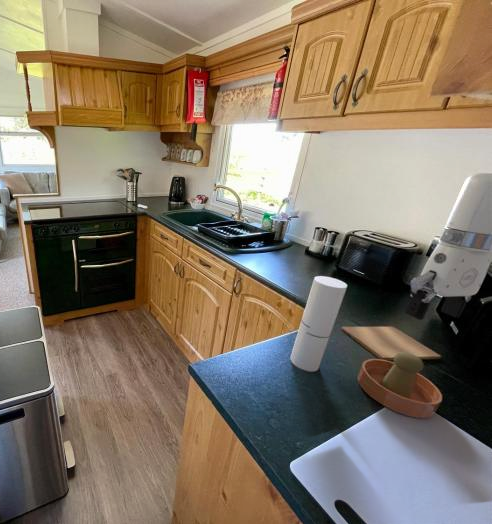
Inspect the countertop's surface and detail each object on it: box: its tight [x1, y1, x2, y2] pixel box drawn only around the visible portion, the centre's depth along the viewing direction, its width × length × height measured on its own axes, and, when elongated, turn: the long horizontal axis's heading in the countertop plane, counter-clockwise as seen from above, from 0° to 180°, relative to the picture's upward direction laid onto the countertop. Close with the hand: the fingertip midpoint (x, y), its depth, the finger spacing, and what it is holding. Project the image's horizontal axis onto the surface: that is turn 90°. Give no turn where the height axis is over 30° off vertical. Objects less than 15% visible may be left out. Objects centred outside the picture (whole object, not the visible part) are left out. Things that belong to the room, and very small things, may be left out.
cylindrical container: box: [289, 275, 348, 372], centre depth 77 cm, size 7×7×25 cm
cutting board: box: [340, 325, 442, 361], centre depth 93 cm, size 20×16×1 cm
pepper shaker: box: [380, 352, 424, 399], centre depth 70 cm, size 6×6×11 cm
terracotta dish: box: [357, 358, 443, 419], centre depth 71 cm, size 15×15×4 cm
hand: (431, 315), depth 62 cm, fingers open, 9 cm apart
